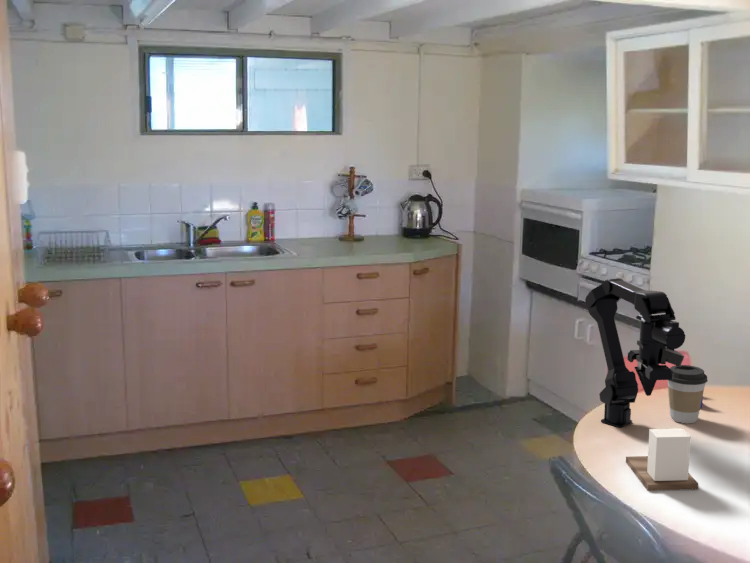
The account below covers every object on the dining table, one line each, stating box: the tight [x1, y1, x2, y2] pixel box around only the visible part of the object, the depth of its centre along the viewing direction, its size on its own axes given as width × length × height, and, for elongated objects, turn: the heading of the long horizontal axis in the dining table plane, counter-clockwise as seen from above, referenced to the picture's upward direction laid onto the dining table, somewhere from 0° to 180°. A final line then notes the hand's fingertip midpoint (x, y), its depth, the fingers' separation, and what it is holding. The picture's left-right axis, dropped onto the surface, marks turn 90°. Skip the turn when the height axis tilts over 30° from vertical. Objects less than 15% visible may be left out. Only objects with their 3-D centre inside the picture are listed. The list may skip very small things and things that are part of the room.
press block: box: [647, 428, 692, 481], centre depth 194 cm, size 6×8×11 cm
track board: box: [625, 455, 699, 492], centre depth 199 cm, size 16×12×2 cm
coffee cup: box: [667, 364, 708, 424], centre depth 233 cm, size 11×11×15 cm
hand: (648, 395), depth 217 cm, fingers closed
